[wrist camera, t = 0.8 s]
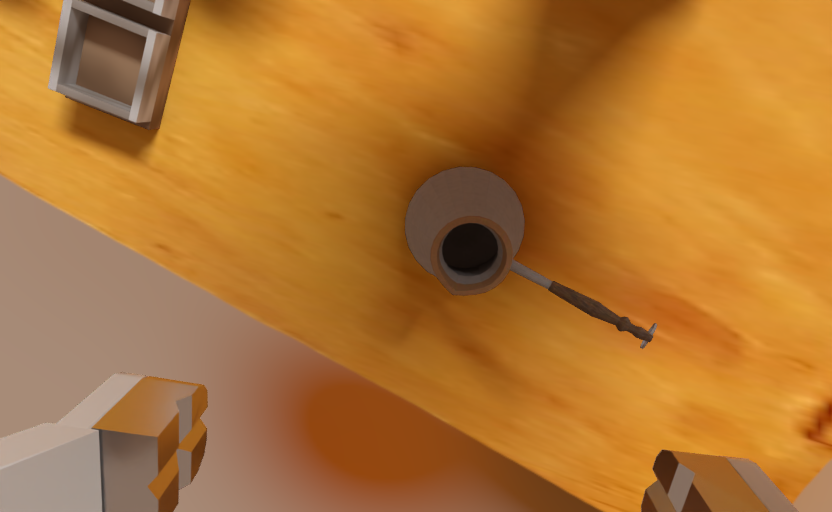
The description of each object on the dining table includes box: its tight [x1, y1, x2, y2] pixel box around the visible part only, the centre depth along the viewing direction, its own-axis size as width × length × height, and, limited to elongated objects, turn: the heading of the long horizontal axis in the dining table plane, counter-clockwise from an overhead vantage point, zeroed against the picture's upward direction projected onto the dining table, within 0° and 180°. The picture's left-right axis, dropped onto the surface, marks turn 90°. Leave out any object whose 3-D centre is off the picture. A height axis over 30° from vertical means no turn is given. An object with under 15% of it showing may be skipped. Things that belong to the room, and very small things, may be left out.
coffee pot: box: [405, 167, 657, 349], centre depth 46 cm, size 21×12×15 cm, turn 67°
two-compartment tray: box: [48, 0, 190, 130], centre depth 46 cm, size 19×8×4 cm, turn 158°
